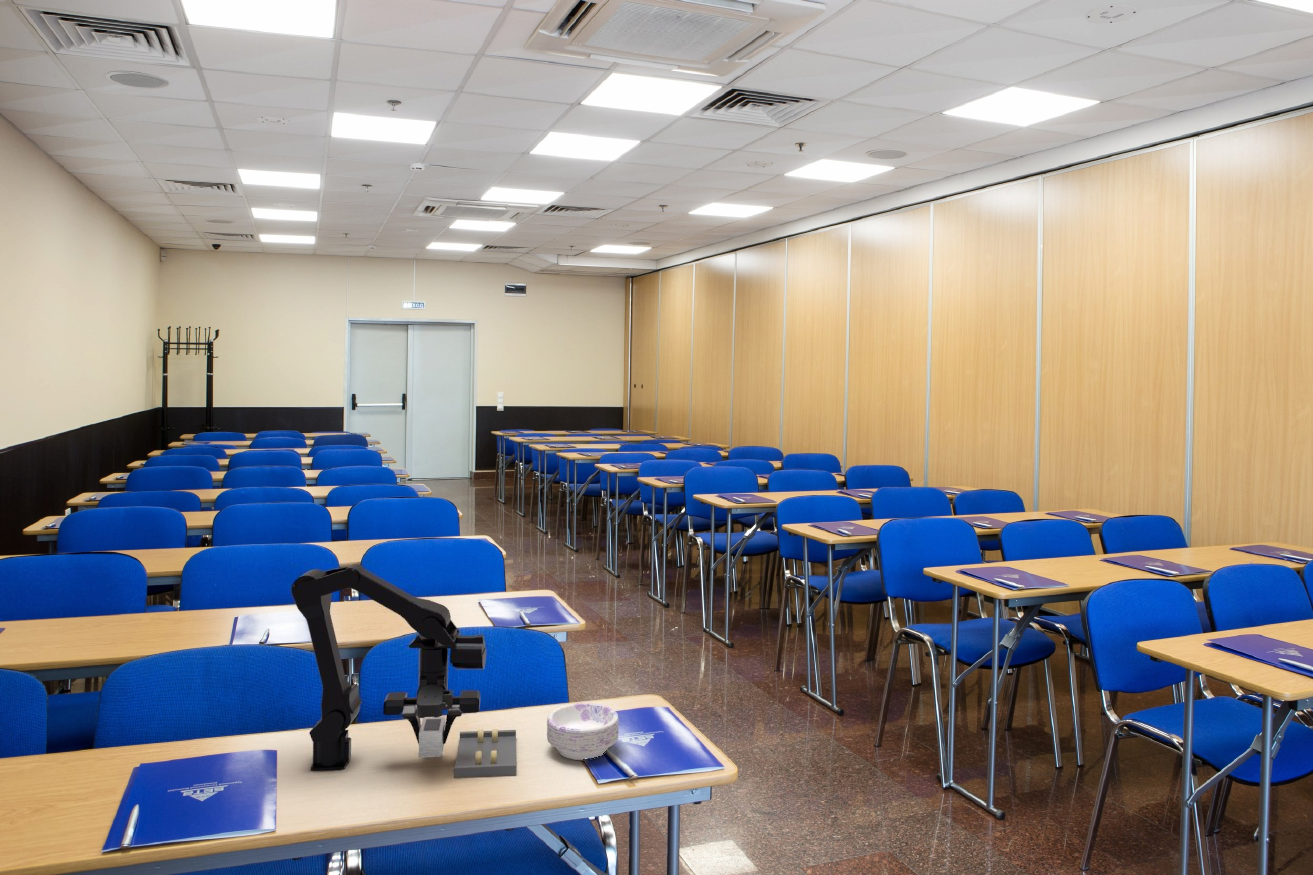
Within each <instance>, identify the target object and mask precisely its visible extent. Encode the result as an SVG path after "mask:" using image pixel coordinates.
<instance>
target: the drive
mask: <svg viewBox="0 0 1313 875" xmlns="http://www.w3.org/2000/svg"><path fill="white" fill-rule="evenodd" d="M445 724H446V716H440V717H436V718H435V717H425V718H422V721H421V727H420V731H419V744H418V759H419V758H442V757H443V752H444V747H445V744H443V736H444V730H445Z"/></svg>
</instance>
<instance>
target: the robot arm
mask: <svg viewBox="0 0 1313 875" xmlns="http://www.w3.org/2000/svg"><path fill="white" fill-rule="evenodd" d="M349 588H351V589H352V590H354V591H356V592H358V593H359V594H361V595H363V596H364V597H367V598H368V599H370V600H371V601H374V602H376V603H377V604H379V605H381V606H383V607H385V608H386V609H388V610H390V611H392V612H393V613H395V614H397V615H398V616H400V617H401V618H402V619H404V621H406V623H407V624H408V625H409V627H411V629H413V630H414V631H416V633H418V634H417V635H416V636H415V638H414V639H413V640H411V641H410V643H409V645H408V648H409V649H418V688H417V691H416V697H408V692H407V691H398V692H397V691H396V692H395V691H394V692H389V693H388V694H386V696H385V699H384V701H383V705H382V706H383V709H382V710H383V712H382V715H383V716H399V715H401V719H406V720H407V721H408V722H409V723H410V726H411V727H412V730H413V733H414V735H415V738H416V741H417V744H418V745H419V731H420V727H421V724H422V721H421V719H423V718H426V717H435V718H436V717H443V713H444V712H443V711H447V712H446V716H445V730H444V736H443V744H444V745H445V744H447V740H448V737H449V734H450V732H451V728H452V725H453V723H454V722H455V720H456V718H457V717H459V718H460V717H461V716H462V715H463V714H472V713H473V714H476V713H478V712H480V708H481V707H480V706H481V692H480V691H479V690H478V689H475V690H474V689H471V690H470V689H469V690H468V689H467V690H460V695H457V696H455V695H454V690H452V689H448V685H449V684H448V683H449V682H448V680H449V678H448V677H449V664H450V665H451V666H452V667H454V669H455V670H485V666H486V659H487V647H486V641H485V635H484V634H475V635H469V634H468V635H464V634H462V635H461V631H460V630H459V628H458V627H457V626H456V625H455V623H454V622H453V620H452V618H451V612H450V610H449V609H448V607H446V606H445V605H444V604H441V603H438V602H436V601H433V600H430V599H425V598H421V597H420V598H419V597H416V596H414V595H411V594H410V593H408V592H406V591H405V590H402V589H401V588H399V587H397V586H396V585H394V584H393V583H391V582H389V581H387V580H385V579H384V578H381V577H379V576H378V575H376V574H374V573H372V572H371V571H369V570H367V569H366V568H364V566H362V565H361V564H359V563H353V564H350V565H348V566H343V567H337V568H332V569H327V570H323V569H319V568H316V569H311V570H308V571H307V572H305V573H303V574H302V575H300V576H299V577H297V578H296V579H295V580H294V581H293V583H292V585H291V587H290V593H291V594H290V595H291V596H292V599H293V601H294V603H295V605H296V607H297V610H298V611H299V612H300V614H301V615H302V617H304V618H305V620H306V622H307V627H308V631H309V635H310V639H311V644H312V649H313V653H314V656H315V660H316V665H317V670H318V674H319V677H320V683H321V687H322V691H321V692H322V693H321V700H320V701H321V703H320V714H321V716H320V718H319V720H318V721H317V722H316V724H315V725H314V726H313V727H312V729H311V730H309V734H308V735H309V736H310V738H311V741H312V764H311V765H310V771H327V770H328V771H330V770H344V769H345V768H346V766H347V764H348V763H349V762H350V760H351V757H352V738H351V737H349V729H347V728H349V727H350V725H351V724H352V723H353V721H354V720H355V718H356V717H357V716H358V714H359V712H360V709H361V705H362V703H363V700H362V698H361V696H360V690H359V684H358V683H355V684H353V685H351V683H350V682H349V680H348V679H347V678H346V675H345V670H344V666H343V662H342V658H341V653H340V650H339V644H338V641H337V636H336V632H335V627H334V624H333V620H332V615H331V605H332V598H333V596H332V595H333V593H336V592H339V591H342V590H345V589H349ZM449 651H450V652H449Z"/></svg>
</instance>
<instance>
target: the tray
mask: <svg viewBox="0 0 1313 875" xmlns="http://www.w3.org/2000/svg"><path fill="white" fill-rule="evenodd" d="M458 740H459V741H458V747H457V752H456V753H457V754H456V759H455V765H454V769H453V770H454V774H453V778H454V779H460V778H461V779H463V778H487V777H509V776H517V730H516V729H501V730H500V729H499V730H498V728H497V729H496V728H495V729H492V730H483V729H478V730H476V731H475V730H474V731H473V730H471V731H468V730H467V731H459V739H458Z"/></svg>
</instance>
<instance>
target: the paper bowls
mask: <svg viewBox="0 0 1313 875" xmlns="http://www.w3.org/2000/svg"><path fill="white" fill-rule="evenodd" d="M619 719H620V717H619V714H618V712H616V710H615V709H613V708H611V707H609V706H606V705H602V704H597V703H590V702H588V703H587V702H581V703H579V702H578V703H571V704H566V705H562V706H560V707H559V706H558V707H557V708H555V709H553V710H552V711H550V712H549V714H548V716H547V718H546V739H547V743H548V744H549V745H550V746H552V747H554V748H556V750H557V752H558V753H559V754H560V755H561V756H562V757H564V758H567V759H570V760H574V761H584V760H583V759H585V758H594V757H597V758H599V757H598V756H600V757H602V755H604V754H605V753H606V752H607V751H606V750H608V749H609V748H611V747H612V746H614V745H615V744H616V742H617V741H618V739H619V725H620V724H619ZM605 751H606V752H605ZM604 752H605V753H604ZM603 753H604V754H603ZM594 759H595V758H594Z"/></svg>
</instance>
